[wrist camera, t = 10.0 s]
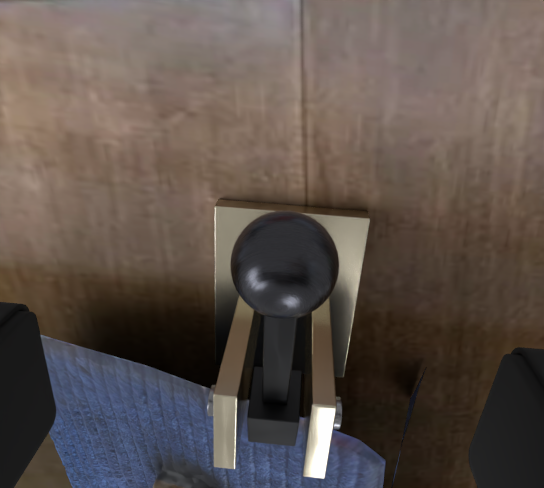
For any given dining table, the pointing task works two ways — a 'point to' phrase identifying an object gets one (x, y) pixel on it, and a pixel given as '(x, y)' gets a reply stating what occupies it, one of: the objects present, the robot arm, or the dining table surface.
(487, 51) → the dining table surface
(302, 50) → the dining table surface
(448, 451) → the dining table surface
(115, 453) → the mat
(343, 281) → the metal lever base
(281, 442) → the lever switch
